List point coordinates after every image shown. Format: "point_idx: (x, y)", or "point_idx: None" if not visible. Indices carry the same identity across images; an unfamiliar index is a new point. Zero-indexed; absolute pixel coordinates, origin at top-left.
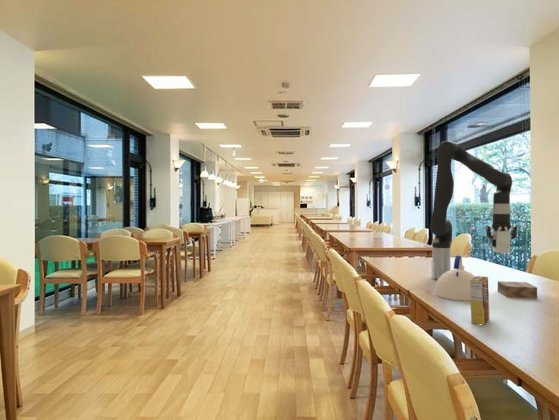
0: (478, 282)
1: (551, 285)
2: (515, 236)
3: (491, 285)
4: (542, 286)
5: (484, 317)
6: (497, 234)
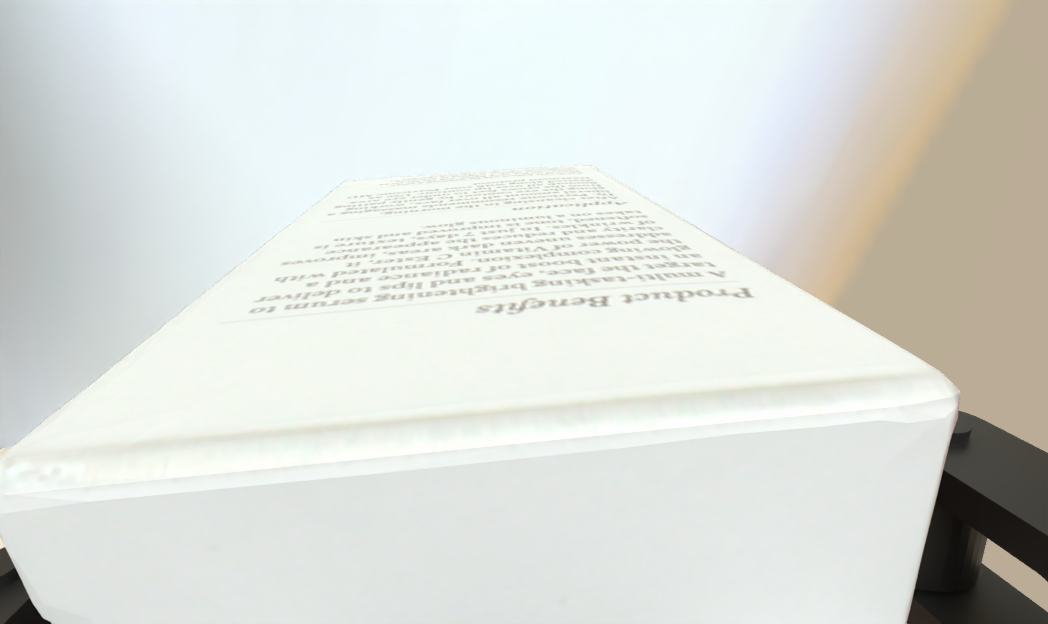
0: None
1: (974, 16)
2: (979, 599)
3: (395, 143)
4: (860, 91)
5: None
6: None
